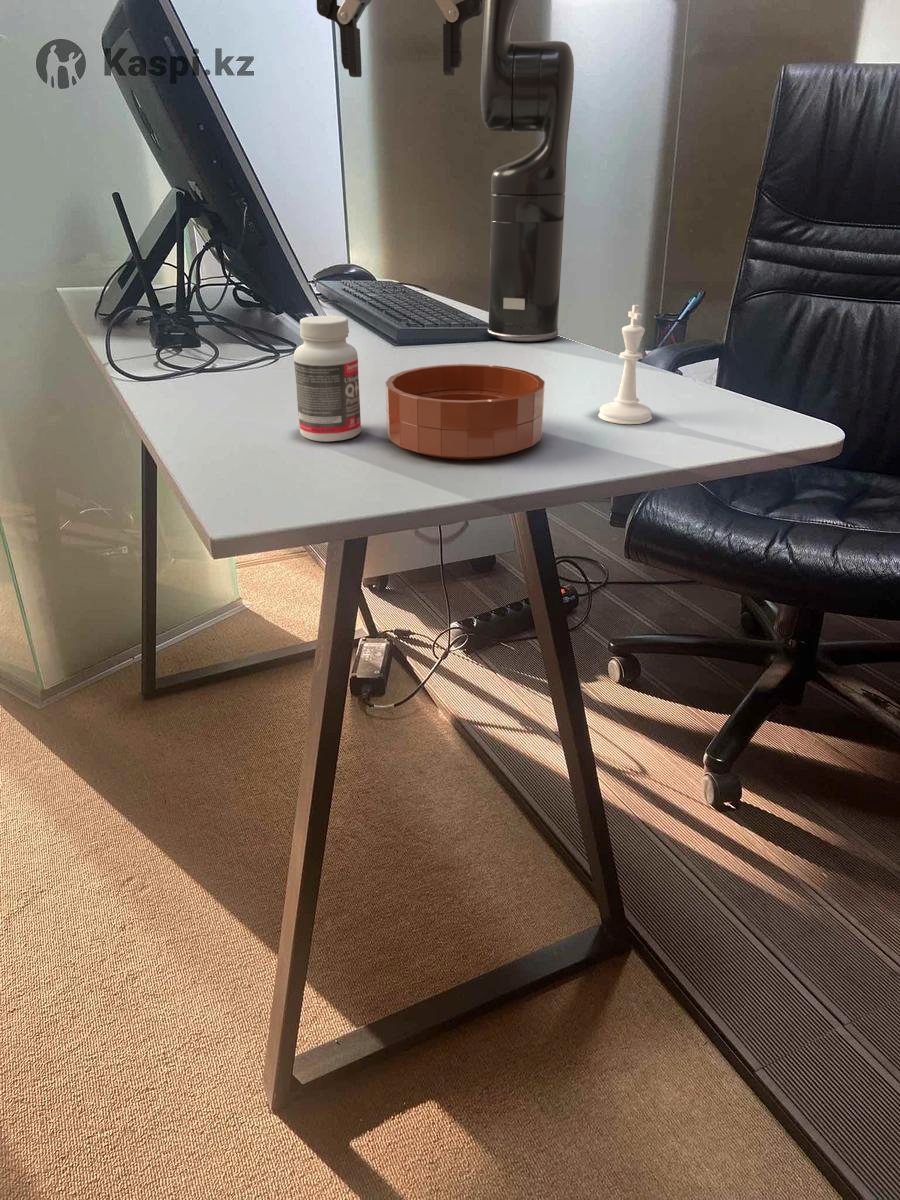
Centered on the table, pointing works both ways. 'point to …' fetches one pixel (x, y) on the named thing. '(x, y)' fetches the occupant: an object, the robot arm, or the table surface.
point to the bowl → (464, 410)
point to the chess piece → (628, 380)
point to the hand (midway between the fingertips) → (401, 76)
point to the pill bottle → (327, 380)
